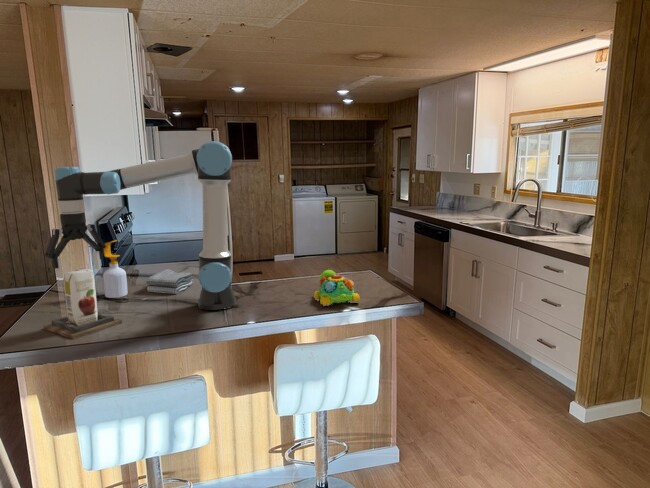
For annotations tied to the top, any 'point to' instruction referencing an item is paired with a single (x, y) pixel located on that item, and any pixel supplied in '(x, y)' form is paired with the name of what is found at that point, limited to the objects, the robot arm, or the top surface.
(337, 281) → the turtle toy
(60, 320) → the base plate
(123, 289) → the soap bottle
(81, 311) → the juice carton
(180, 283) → the towel
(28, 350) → the top surface
